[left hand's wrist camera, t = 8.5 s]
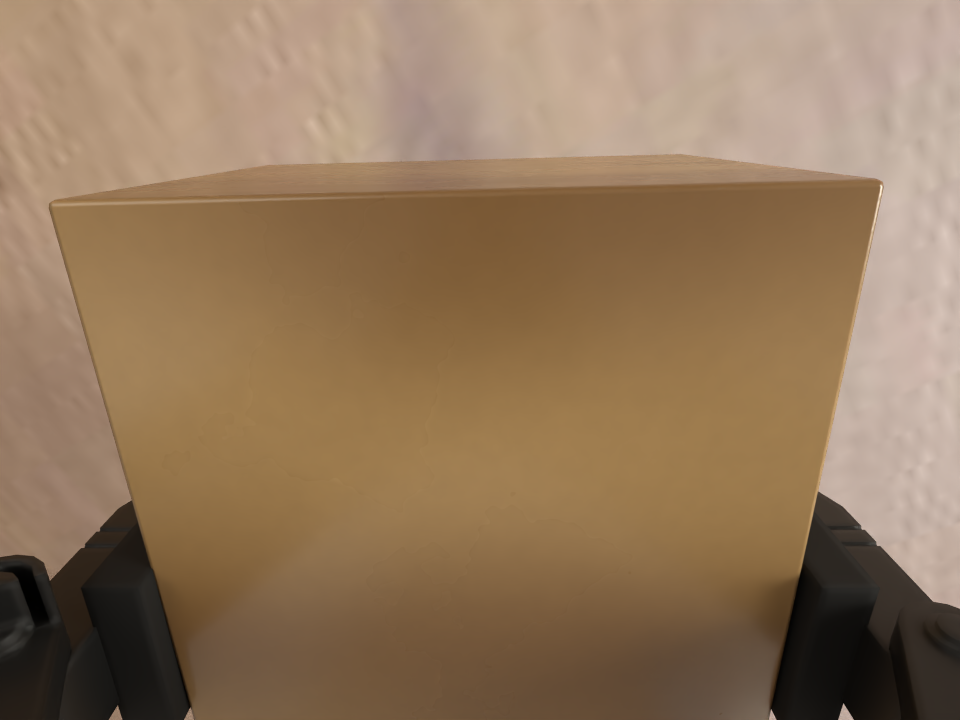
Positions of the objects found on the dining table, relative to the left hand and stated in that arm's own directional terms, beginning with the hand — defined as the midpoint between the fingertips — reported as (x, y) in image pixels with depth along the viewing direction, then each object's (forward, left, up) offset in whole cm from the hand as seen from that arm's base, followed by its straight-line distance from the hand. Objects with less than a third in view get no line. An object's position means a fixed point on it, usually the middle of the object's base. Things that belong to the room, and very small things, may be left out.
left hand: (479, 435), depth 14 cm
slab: (+25, 0, -1) cm, 25 cm away
